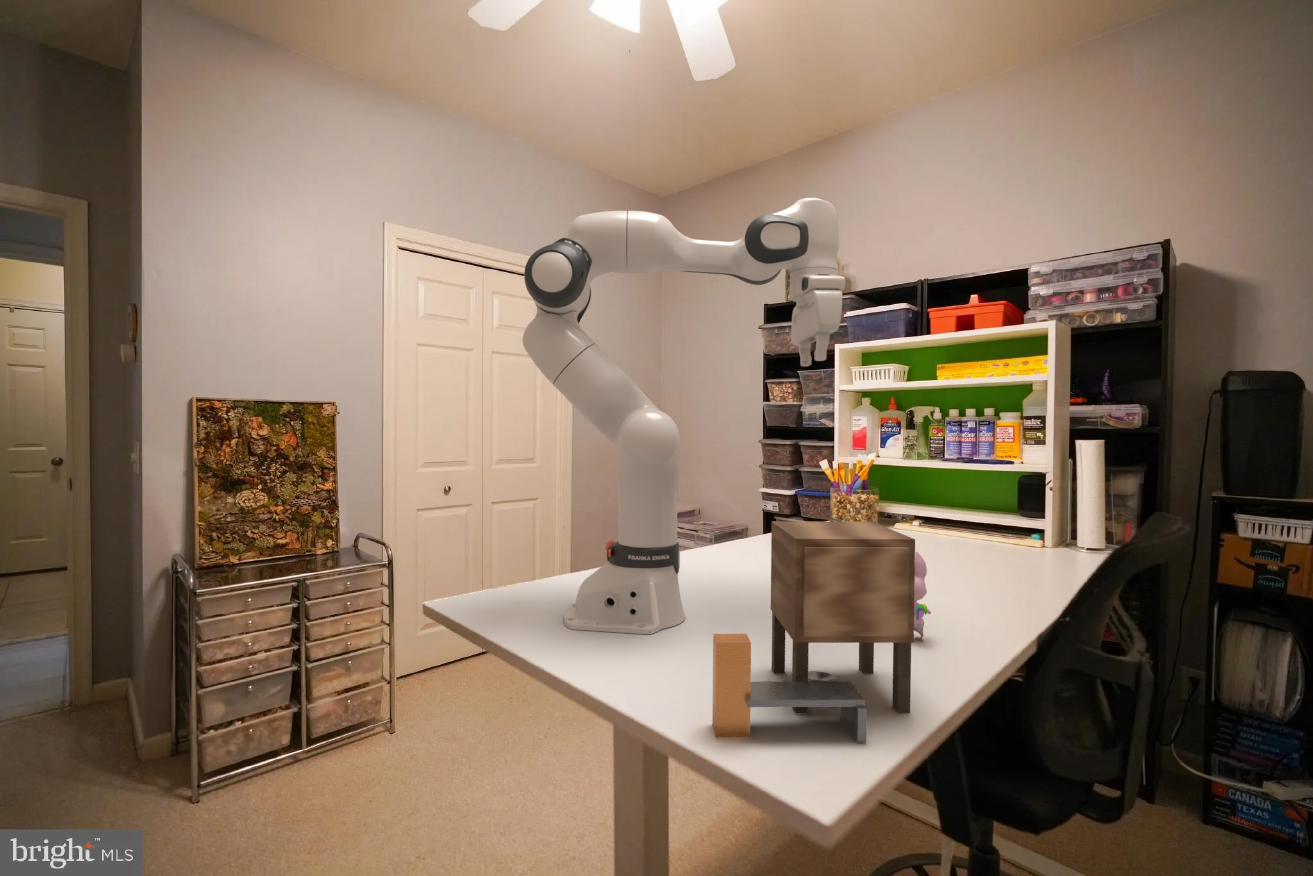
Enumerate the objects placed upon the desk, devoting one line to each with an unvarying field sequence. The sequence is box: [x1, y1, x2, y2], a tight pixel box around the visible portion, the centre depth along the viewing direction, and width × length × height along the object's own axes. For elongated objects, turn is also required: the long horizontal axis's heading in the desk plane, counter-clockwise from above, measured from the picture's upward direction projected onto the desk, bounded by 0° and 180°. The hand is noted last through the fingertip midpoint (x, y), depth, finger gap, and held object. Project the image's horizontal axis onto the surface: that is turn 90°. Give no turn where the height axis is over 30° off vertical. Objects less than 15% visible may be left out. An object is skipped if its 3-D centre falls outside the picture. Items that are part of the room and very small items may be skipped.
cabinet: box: [770, 520, 916, 714], centre depth 82 cm, size 15×15×22 cm
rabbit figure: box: [914, 551, 932, 642], centre depth 101 cm, size 6×6×15 cm
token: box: [808, 670, 839, 681], centre depth 82 cm, size 5×5×2 cm
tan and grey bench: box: [711, 633, 868, 745], centre depth 71 cm, size 17×6×11 cm, turn 91°
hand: (812, 363), depth 113 cm, fingers open, 8 cm apart
